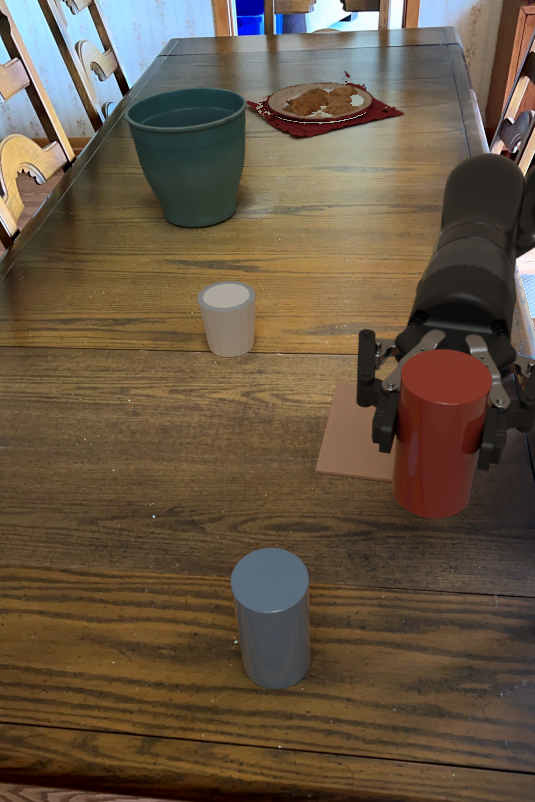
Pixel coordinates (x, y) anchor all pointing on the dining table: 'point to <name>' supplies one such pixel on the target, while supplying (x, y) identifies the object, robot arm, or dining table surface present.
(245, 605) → the grey upright cylinder
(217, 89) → the flower pot
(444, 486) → the glossy red cylinder
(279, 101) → the plate with food
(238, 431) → the dining table surface
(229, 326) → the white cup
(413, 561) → the dining table surface
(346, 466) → the terracotta mat
